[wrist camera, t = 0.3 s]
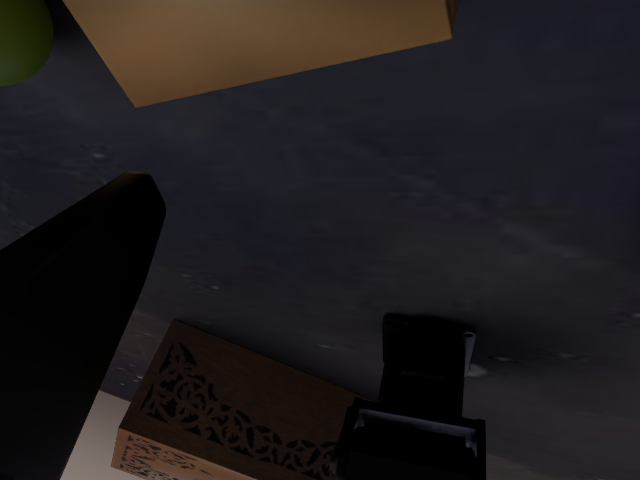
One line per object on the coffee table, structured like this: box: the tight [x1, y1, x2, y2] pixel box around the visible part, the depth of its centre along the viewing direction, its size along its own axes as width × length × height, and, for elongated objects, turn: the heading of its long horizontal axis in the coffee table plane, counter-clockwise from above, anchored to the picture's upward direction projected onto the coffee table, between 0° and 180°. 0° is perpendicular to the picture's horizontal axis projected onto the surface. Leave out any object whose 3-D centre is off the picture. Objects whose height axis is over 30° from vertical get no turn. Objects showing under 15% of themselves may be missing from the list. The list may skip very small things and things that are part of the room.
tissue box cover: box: [111, 319, 375, 480], centre depth 50 cm, size 26×14×10 cm, turn 69°
